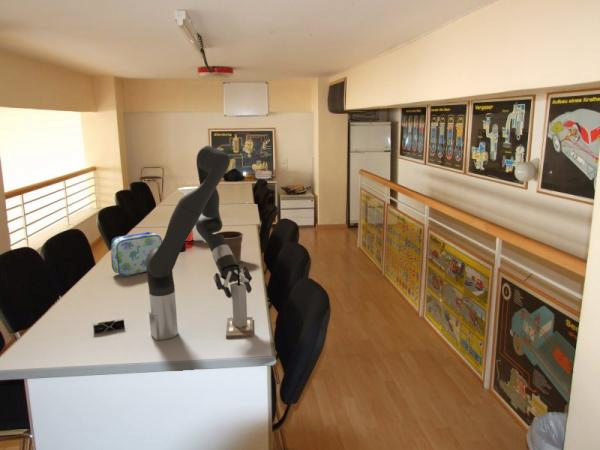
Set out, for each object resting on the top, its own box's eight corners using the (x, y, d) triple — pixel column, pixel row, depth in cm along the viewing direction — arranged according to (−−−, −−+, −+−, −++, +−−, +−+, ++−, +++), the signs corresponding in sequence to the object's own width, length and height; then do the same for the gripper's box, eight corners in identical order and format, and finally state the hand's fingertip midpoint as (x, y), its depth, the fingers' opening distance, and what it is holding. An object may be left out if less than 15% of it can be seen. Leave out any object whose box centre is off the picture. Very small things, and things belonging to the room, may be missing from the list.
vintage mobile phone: (239, 322, 195) (236, 261, 189) (247, 325, 191) (245, 264, 186) (231, 325, 192) (229, 263, 187) (240, 328, 189) (237, 266, 183)
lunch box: (157, 264, 276) (154, 227, 271) (166, 268, 268) (163, 231, 263) (111, 274, 259) (107, 235, 254) (119, 279, 251) (115, 239, 246)
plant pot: (242, 266, 270) (241, 237, 266) (212, 266, 270) (211, 238, 266) (245, 257, 285) (244, 230, 282) (218, 258, 286) (216, 231, 282)
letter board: (252, 336, 185) (252, 333, 184) (226, 338, 184) (225, 335, 183) (252, 319, 200) (252, 316, 200) (227, 320, 199) (227, 318, 199)
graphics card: (93, 335, 189) (91, 325, 187) (92, 331, 191) (91, 321, 189) (124, 329, 194) (124, 319, 192) (124, 325, 196) (123, 315, 194)
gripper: (236, 260, 201) (252, 294, 194) (205, 267, 192) (220, 303, 186) (243, 250, 195) (259, 285, 189) (210, 257, 187) (226, 294, 181)
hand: (240, 294), depth 188 cm, fingers open, 8 cm apart
